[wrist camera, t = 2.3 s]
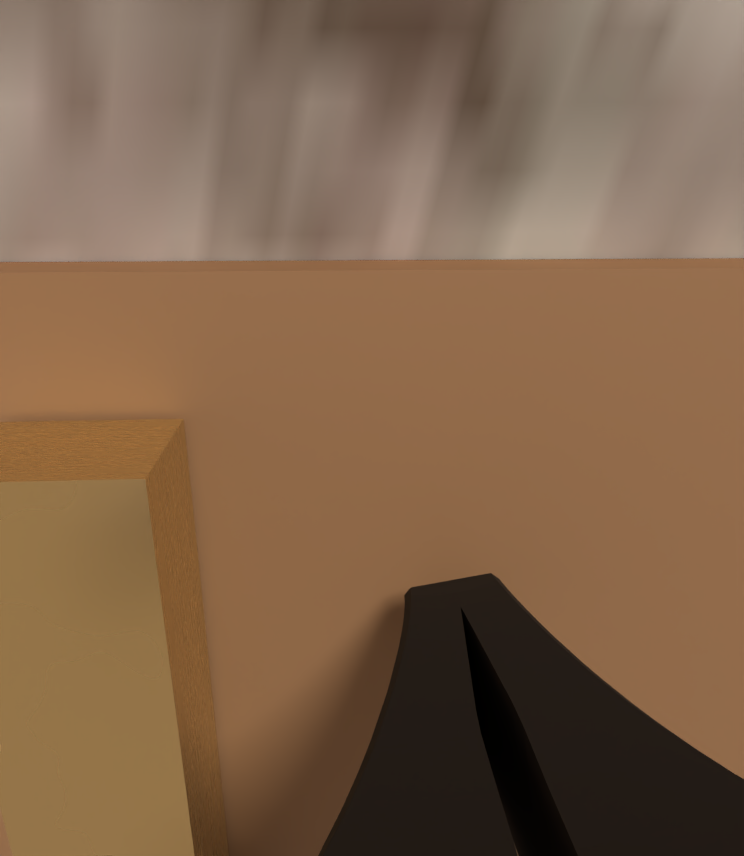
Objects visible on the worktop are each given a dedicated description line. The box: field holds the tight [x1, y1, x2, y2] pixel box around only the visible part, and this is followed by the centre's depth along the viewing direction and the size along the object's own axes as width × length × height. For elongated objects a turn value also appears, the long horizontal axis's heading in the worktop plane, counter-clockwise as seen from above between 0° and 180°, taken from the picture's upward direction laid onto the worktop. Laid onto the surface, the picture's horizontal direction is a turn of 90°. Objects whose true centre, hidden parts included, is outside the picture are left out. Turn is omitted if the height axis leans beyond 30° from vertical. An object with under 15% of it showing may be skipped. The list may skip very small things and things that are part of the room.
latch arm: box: [0, 419, 229, 856], centre depth 10 cm, size 12×3×2 cm, turn 0°
